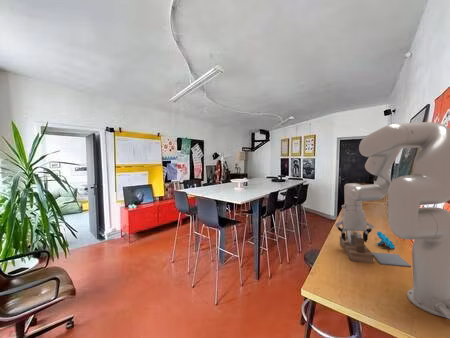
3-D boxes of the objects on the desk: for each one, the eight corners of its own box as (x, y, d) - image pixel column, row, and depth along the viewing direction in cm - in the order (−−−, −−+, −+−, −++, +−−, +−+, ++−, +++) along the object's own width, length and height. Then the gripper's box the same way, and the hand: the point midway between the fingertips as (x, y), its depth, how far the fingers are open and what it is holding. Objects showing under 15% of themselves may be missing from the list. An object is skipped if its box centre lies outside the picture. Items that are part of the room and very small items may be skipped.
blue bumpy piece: (393, 249, 100) (376, 231, 106) (382, 254, 103) (367, 237, 109) (398, 245, 107) (382, 229, 113) (388, 251, 110) (373, 234, 116)
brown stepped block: (373, 263, 91) (372, 241, 91) (351, 261, 94) (350, 240, 93) (357, 243, 112) (357, 226, 112) (339, 242, 115) (339, 225, 114)
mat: (410, 267, 86) (410, 265, 86) (380, 264, 90) (380, 263, 90) (397, 255, 97) (397, 254, 97) (371, 253, 100) (371, 252, 100)
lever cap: (362, 247, 99) (361, 233, 99) (350, 246, 101) (350, 233, 100) (358, 242, 105) (357, 229, 105) (347, 241, 106) (347, 229, 106)
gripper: (336, 208, 101) (337, 242, 102) (376, 209, 96) (377, 244, 96) (332, 205, 108) (334, 236, 109) (370, 206, 103) (371, 238, 104)
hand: (354, 240), depth 103 cm, fingers open, 9 cm apart
